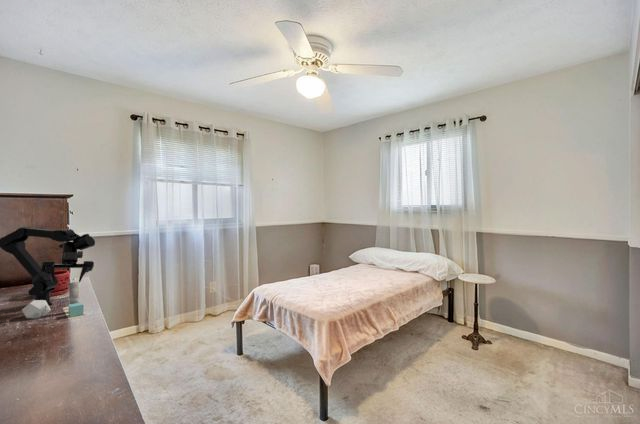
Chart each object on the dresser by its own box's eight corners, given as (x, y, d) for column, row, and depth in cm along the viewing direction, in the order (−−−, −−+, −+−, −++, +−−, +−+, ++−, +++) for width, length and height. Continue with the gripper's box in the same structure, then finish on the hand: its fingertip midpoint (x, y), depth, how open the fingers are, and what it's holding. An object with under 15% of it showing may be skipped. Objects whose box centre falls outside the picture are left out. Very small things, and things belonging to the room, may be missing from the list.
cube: (68, 314, 128) (68, 304, 128) (81, 312, 131) (81, 302, 131) (70, 317, 125) (70, 307, 125) (83, 314, 128) (83, 304, 128)
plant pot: (44, 292, 166) (44, 271, 166) (73, 289, 172) (73, 269, 171) (33, 298, 154) (33, 276, 154) (65, 295, 160) (64, 274, 160)
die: (25, 325, 121) (44, 305, 124) (11, 314, 122) (30, 294, 125) (42, 325, 129) (60, 305, 131) (29, 314, 130) (46, 295, 133)
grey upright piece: (62, 309, 137) (62, 280, 137) (79, 306, 141) (78, 278, 141) (68, 321, 123) (68, 288, 123) (86, 317, 128) (86, 285, 128)
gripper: (45, 243, 133) (41, 275, 125) (96, 245, 145) (95, 273, 138) (43, 256, 139) (38, 286, 131) (92, 256, 151) (90, 284, 144)
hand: (66, 282), depth 136 cm, fingers open, 9 cm apart
